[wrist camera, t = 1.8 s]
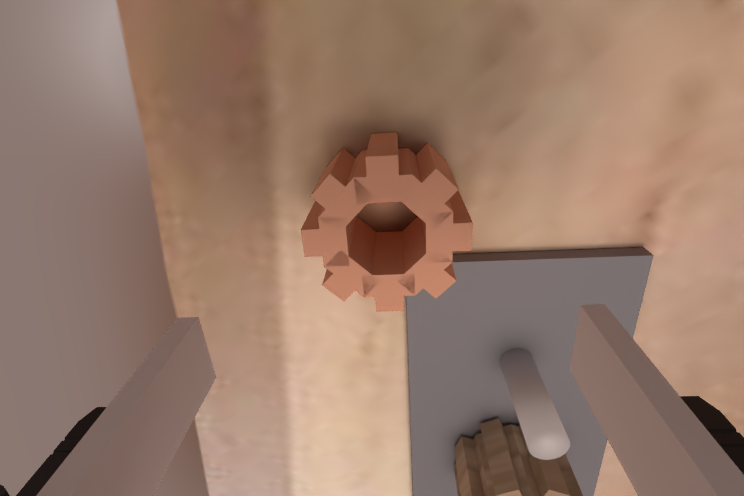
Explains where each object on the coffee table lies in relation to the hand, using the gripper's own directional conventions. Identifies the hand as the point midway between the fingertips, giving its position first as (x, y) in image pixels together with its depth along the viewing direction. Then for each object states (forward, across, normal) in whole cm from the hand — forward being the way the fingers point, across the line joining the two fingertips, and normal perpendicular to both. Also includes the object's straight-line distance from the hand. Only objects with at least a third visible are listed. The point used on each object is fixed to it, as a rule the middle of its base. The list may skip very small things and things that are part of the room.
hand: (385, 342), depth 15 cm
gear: (+13, +9, -22) cm, 27 cm away
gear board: (+14, +9, -17) cm, 24 cm away
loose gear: (+14, 0, 0) cm, 14 cm away
